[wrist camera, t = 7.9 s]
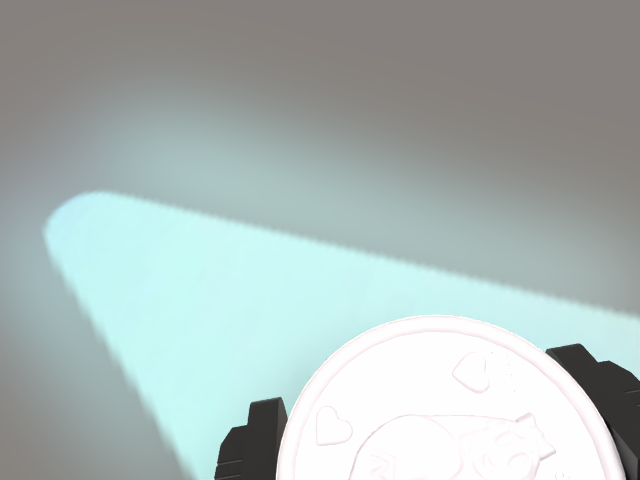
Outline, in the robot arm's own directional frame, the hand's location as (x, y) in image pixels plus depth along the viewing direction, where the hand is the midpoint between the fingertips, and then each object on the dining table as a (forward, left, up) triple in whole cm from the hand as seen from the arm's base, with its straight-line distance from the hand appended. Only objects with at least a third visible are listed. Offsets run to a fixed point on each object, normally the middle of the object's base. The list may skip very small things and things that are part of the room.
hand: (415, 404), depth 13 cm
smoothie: (+1, +2, -7) cm, 7 cm away
